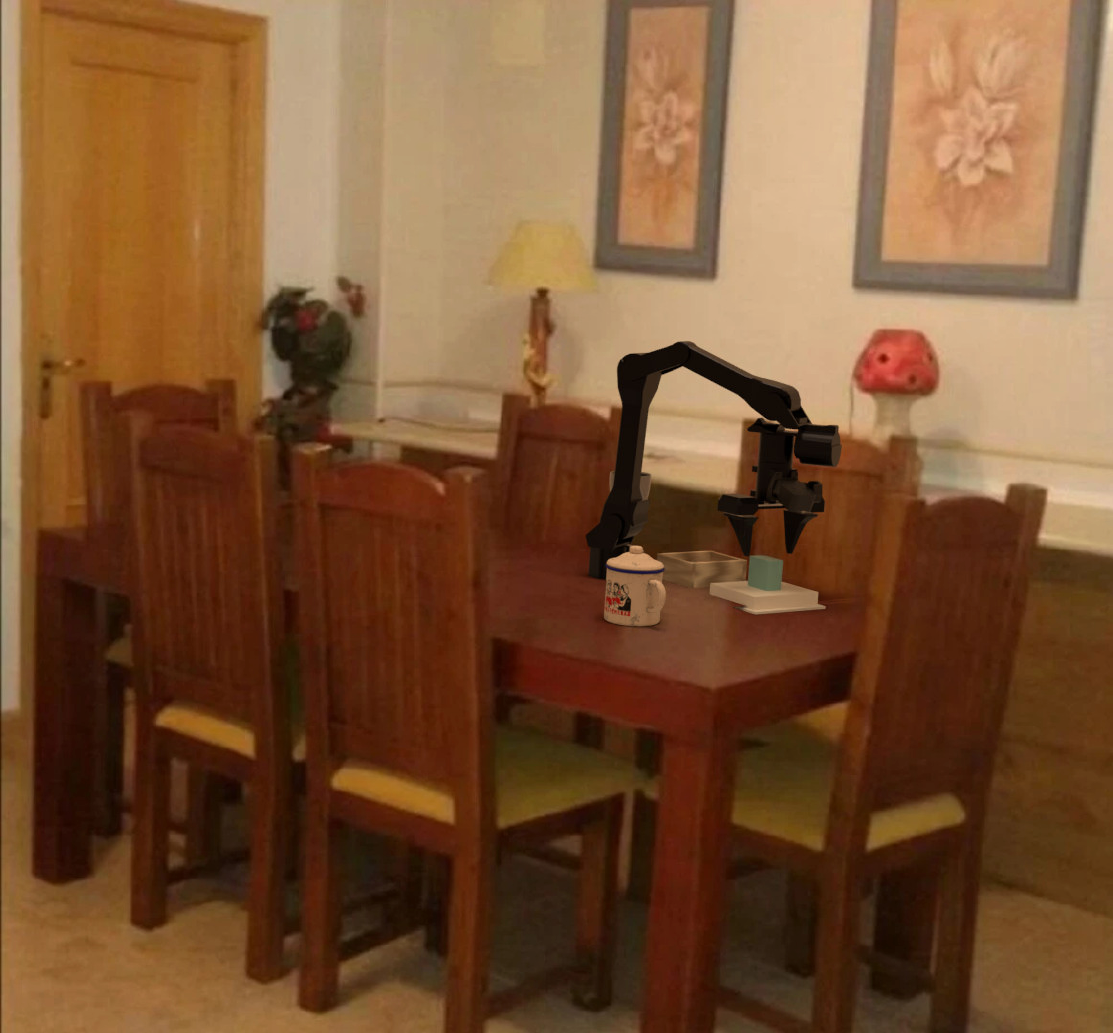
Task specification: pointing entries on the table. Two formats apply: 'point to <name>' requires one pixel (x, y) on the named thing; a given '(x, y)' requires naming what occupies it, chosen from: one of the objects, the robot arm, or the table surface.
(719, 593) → the lid
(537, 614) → the table surface
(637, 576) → the teacup with lid
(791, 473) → the robot arm
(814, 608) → the mat
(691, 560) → the box
